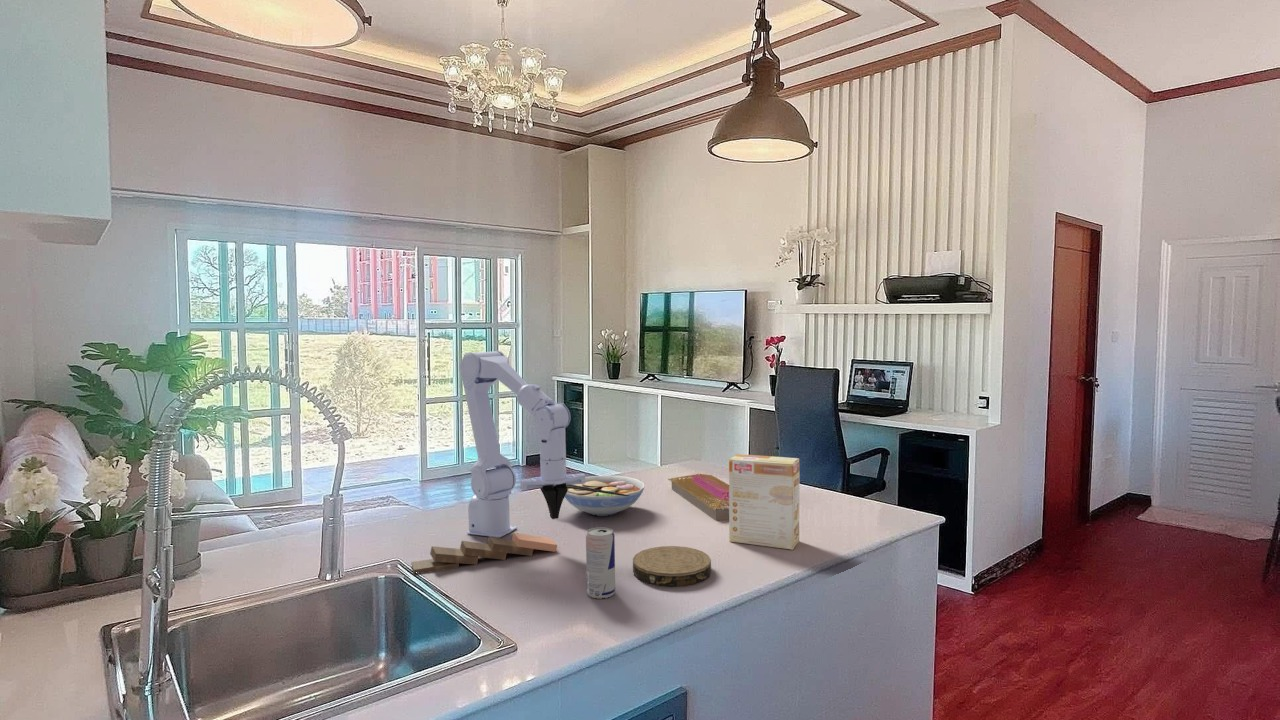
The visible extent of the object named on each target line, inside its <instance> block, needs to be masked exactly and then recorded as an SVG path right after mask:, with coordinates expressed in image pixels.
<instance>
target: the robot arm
mask: <svg viewBox="0 0 1280 720" xmlns="http://www.w3.org/2000/svg"><path fill="white" fill-rule="evenodd" d="M458 367H459V370H460V371H459V372H460V375H461V380H462V381H461V382H462V386H463V388H464V389H463V390H464V394H465V400H466V404H467V408H468V409H467V410H468V414H469V418H470V419H469V420H470V424H471V429H472V434H473V438H474V444H475V449H476V454H477V460H476V461H475V463H474V464H473V465H472V467H470V475H471V477H470V478H471V479H470V487H471V491H472V493H473V494H474V495H473V496H472V497H470V498H471V499H469V503H468V509H467V510H468V530H467V531H466V533H467V535H475V536H483V537H488V538H489V537H495V538H502V537H504V536H506V535H507V534H509V533H512V532H513V531H515V530H517V529H518V526H516V525H511V518H510V517H511V515H510V495H512V490H513V489H514V488H515V486H516V484H517V477H516V473H515V471H514V469H513V467H512V465H511V460H510V459H509V458H507V457H505V455H503V454H501V450H500V446H499V445H500V444H499V440H498V436H497V430H496V426H495V425H496V424H495V421H494V416H493V411H492V405H491V402H490V401H491V400H490V396H489V390H490V388H491V387H492V386H494V385H495V383H496V382H497V381H499V382H500V383H502V385H504V386H505V387H506V388H508V389H509V390H510V391H511V392H512V393H514V394H515V395H516V402H517V403H518V405H520V406H521V408H523V409H524V410H525V411H526V412H527V413H528V414H529V415H530V416H531V417H532V418H533V424H534V426H535V428H536V432H537V437H538V439H539V458H540V459H539V463H540V476H537V477H531V478H526V479H520V489H521V490H522V491H528V490H530V489H532V490H533V489H539V490H540V491H541V493H542V495H543V497H544V500H545V502H546V505H547V508H548V511H549V512H548V513H549V515H550V516H549V517H550V518H551V520H558V519H559V518H560V517H559V516H560V511H561V508H562V504H563V501H564V499H565V495H566V493H567V490H568V488H567V487H566V485H568V484H577V483H581V484H584V483H586V479H585V477H586V474H584V473H568V474H567V450H566V449H567V448H566V446H567V445H566V444H567V443H566V440H567V439H566V428H568V426H569V425H570V423H571V417H572V416H571V412H570V409H569V408H568V407H567V406H566V404H565V403H563V402H556V401H554V400H553V398H551V397H549V396H548V395H547V394H546V393H545V392H544V391H543V390H541V386H540V385H539V384H533V383H527V382H526V381H525V380H524V378H522V376H521V375H520V374H519V373H518V371H516V369H514V368H513V366H512V365H511V364H510V359H509V357H508V356H506V355H505V354H504V353H503V352H502V351H501V350H494V351H482V352H479V351H478V352H470V351H469V352H467V353H465V354H464V355H463V357H462V359H461V361H460V363H459V366H458ZM489 468H490V469H489ZM491 468H492V469H491Z"/></svg>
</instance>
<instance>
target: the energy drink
mask: <svg viewBox="0 0 1280 720" xmlns="http://www.w3.org/2000/svg"><path fill="white" fill-rule="evenodd" d="M615 540H616V539H615V533H614V529H612V528H609V527H603V526H602V527H601V526H599V527H593V528H590V529H588V530H587V531H586V535H585V552H586V553H585V556H586V557H585V558H586V560H585V561H586V562H585V563H586V594H587V596H588V597H590V598H591V599H592V598H593V599H595V598H597V599H598V600H603V599H602V598H605V599H608V597H609V598H611V597H613V596H614V595H615V593H616V560H615V559H616V558H615V557H616V553H615V551H616V548H615V546H616V543H615ZM612 595H613V596H612Z"/></svg>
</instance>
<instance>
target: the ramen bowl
mask: <svg viewBox="0 0 1280 720" xmlns="http://www.w3.org/2000/svg"><path fill="white" fill-rule="evenodd" d="M585 479H586V483H584V484H581V483H577V484H568V485H566V487H567V488H568V490H567V493H566V495H565V497H564V499H565V500H566V501H567V502H568V503H569V504H570V505H571V506H572V507H574V508H575V509H577V510H578V511H581V512H583V513H584V512H585V513H588V514H590V515H591V514H592V515H593V516H595V515H597V517H608V515H609V516H612V515H615V514H617V513H618V512H622V511H624V510H627V509H628V508H630V507H631V506H632V505H634V504H635V503H637V501H638V500H639V498H640V497H641V496H642V494H643V492H644V490H645V487H646V486H645V485H646V484H645V481H642V480H640V479H638V478H633V477H630V476H621V475H593V476H592V475H590V476H585ZM592 515H591V516H592Z"/></svg>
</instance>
